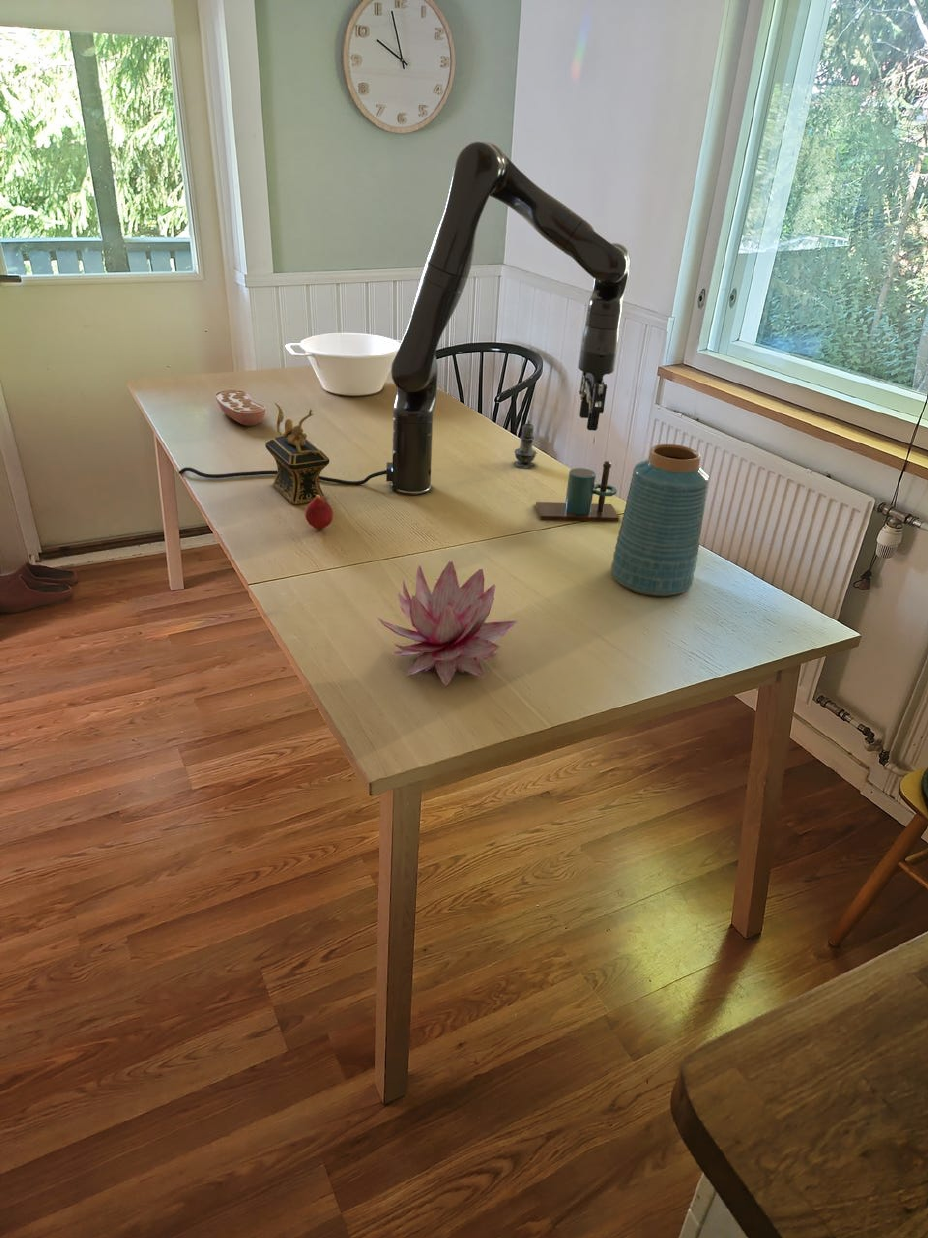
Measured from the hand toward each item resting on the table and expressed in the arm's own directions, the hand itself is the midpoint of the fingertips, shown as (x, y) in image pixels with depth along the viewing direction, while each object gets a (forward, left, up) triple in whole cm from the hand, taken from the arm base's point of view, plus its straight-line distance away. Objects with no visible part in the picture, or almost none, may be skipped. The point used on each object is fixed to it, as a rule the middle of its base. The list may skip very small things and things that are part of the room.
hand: (587, 423), depth 184 cm
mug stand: (0, 0, -21) cm, 21 cm away
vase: (+9, -32, -22) cm, 40 cm away
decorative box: (-65, +10, -22) cm, 69 cm away
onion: (-58, -12, -22) cm, 63 cm away
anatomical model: (-86, +62, -22) cm, 108 cm away
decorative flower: (-34, -62, -22) cm, 74 cm away
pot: (-55, +96, -22) cm, 113 cm away
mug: (+3, 0, -20) cm, 21 cm away
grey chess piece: (-8, +31, -22) cm, 38 cm away
